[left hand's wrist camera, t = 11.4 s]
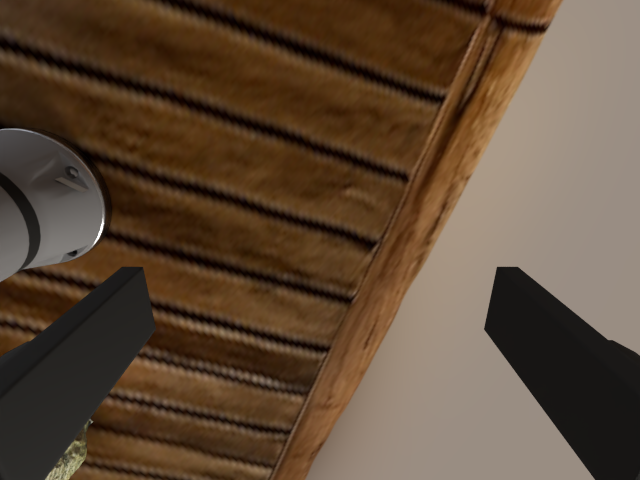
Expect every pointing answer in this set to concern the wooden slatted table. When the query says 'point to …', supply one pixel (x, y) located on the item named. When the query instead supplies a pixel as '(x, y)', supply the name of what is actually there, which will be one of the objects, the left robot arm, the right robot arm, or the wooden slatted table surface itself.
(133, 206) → the wooden slatted table surface
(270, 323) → the wooden slatted table surface
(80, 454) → the fossil
